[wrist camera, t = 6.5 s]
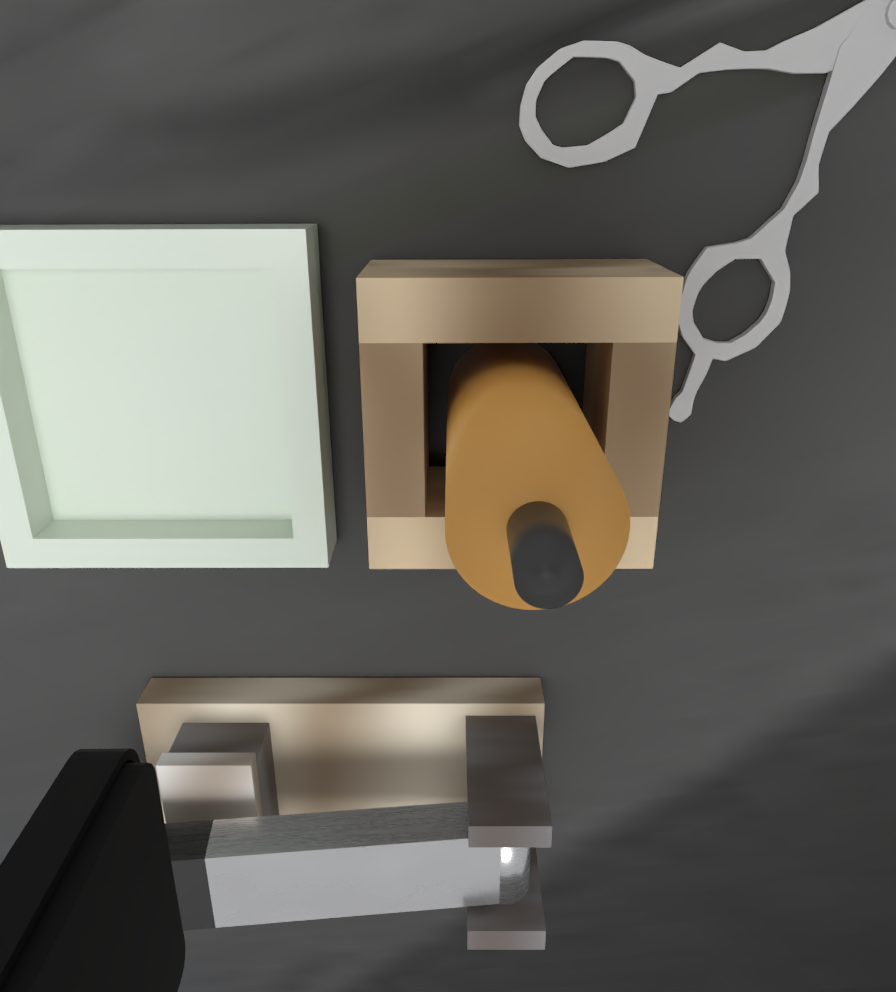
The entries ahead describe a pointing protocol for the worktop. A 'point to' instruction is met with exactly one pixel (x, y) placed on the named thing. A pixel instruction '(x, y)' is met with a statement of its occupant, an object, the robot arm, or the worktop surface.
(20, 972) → the robot arm
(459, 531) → the plug
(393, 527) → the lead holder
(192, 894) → the lever
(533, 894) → the base
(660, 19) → the worktop surface
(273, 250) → the tray
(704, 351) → the scissors
